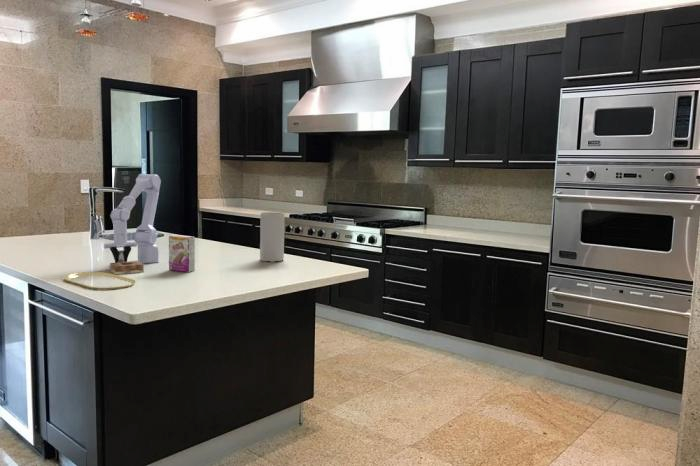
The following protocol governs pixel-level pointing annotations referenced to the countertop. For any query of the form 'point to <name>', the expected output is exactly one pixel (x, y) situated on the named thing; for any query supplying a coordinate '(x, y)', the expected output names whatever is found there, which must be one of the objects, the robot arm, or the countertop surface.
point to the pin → (121, 256)
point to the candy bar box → (181, 253)
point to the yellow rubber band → (100, 274)
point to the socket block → (126, 267)
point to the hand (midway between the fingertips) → (120, 262)
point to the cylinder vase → (272, 236)
